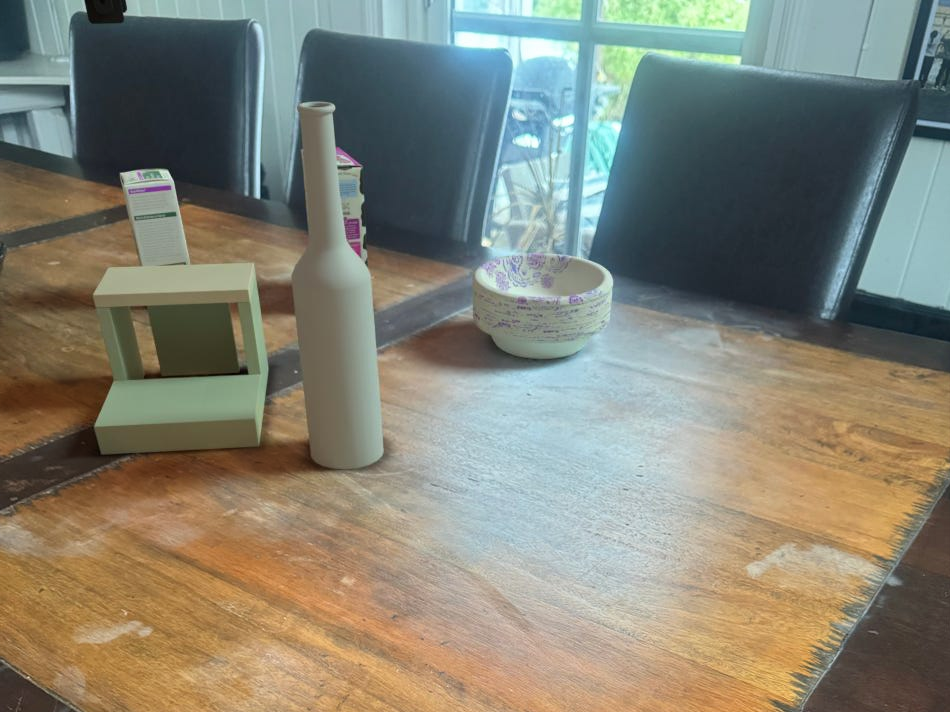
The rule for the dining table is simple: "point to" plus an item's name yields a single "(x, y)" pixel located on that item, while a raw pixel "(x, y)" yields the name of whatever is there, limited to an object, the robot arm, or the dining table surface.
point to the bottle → (334, 315)
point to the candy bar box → (349, 201)
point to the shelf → (182, 359)
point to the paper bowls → (541, 303)
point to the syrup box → (155, 217)
